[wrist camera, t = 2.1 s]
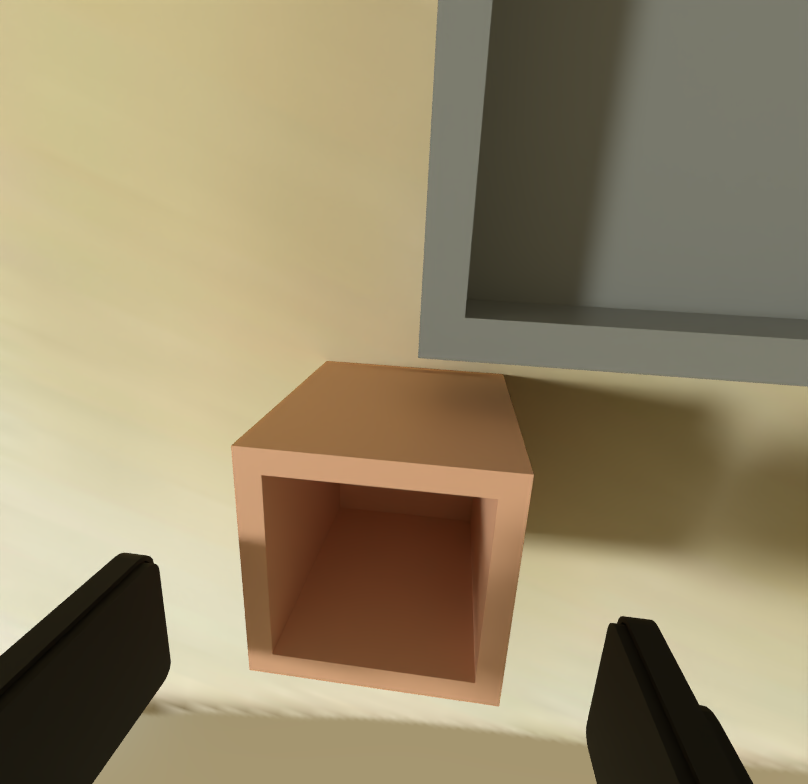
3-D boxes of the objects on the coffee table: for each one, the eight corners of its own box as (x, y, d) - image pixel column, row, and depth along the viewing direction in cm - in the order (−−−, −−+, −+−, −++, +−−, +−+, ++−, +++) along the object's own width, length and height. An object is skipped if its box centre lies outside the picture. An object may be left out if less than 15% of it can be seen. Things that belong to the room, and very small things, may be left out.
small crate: (327, 360, 16) (231, 445, 9) (502, 373, 15) (533, 474, 9) (328, 510, 18) (249, 669, 11) (484, 527, 17) (498, 705, 11)
